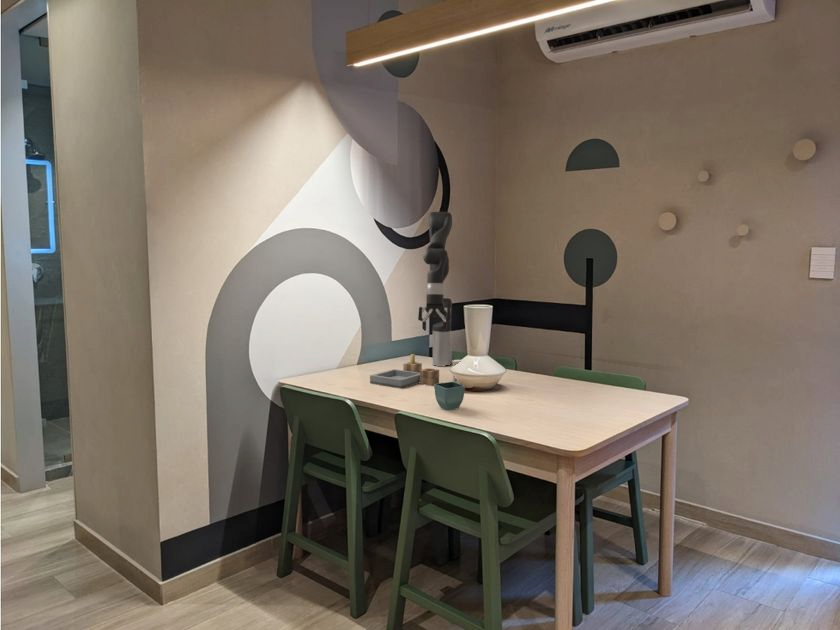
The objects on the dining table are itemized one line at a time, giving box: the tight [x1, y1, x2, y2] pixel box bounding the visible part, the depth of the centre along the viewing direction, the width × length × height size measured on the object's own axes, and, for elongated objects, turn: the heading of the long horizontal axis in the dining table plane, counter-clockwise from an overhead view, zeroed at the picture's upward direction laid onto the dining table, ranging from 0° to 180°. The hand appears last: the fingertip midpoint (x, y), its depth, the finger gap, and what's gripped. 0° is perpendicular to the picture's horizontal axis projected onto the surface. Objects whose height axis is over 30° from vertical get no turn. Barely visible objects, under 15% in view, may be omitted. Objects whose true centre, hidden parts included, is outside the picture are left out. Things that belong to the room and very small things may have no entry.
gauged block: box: [402, 353, 423, 373], centre depth 312 cm, size 6×6×10 cm
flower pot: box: [433, 381, 466, 411], centre depth 255 cm, size 9×9×9 cm
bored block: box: [419, 368, 440, 386], centre depth 297 cm, size 6×6×6 cm
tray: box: [369, 368, 420, 389], centre depth 300 cm, size 17×17×4 cm
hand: (434, 330), depth 300 cm, fingers open, 8 cm apart
